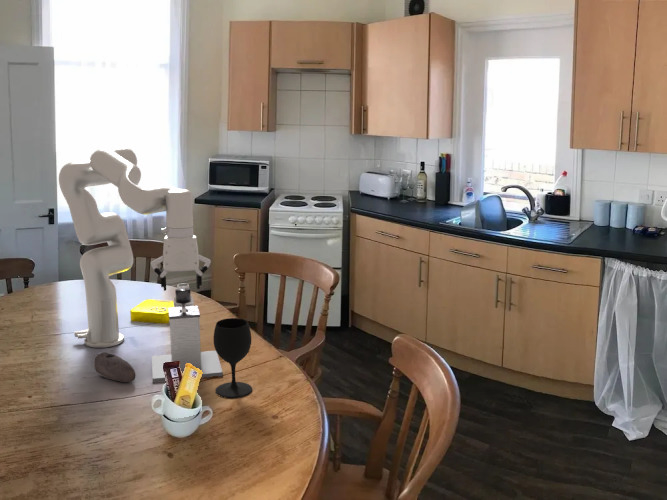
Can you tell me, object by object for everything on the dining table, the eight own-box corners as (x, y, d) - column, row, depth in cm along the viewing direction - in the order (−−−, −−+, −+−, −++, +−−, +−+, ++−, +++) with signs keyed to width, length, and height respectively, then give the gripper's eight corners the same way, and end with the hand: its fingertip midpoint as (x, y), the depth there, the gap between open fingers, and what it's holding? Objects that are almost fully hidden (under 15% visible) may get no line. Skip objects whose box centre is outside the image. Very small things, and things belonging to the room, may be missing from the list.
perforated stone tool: (142, 382, 212) (140, 360, 210) (127, 388, 208) (126, 365, 206) (107, 370, 220) (106, 349, 219) (93, 376, 216) (91, 354, 214)
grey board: (152, 382, 212) (152, 378, 212) (151, 359, 229) (151, 356, 228) (222, 376, 217) (222, 372, 216) (216, 354, 234) (216, 350, 233)
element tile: (184, 312, 276) (183, 300, 274) (167, 325, 261) (167, 312, 260) (147, 309, 278) (146, 297, 277) (128, 322, 264) (127, 309, 263)
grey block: (171, 370, 217) (169, 316, 213) (170, 356, 228) (167, 304, 224) (202, 368, 219) (199, 314, 215) (199, 353, 230) (197, 302, 226)
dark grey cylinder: (178, 355, 219) (175, 292, 214) (177, 350, 223) (174, 288, 218) (193, 354, 220) (190, 291, 215) (192, 348, 224) (189, 287, 220)
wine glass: (216, 383, 211) (214, 317, 207) (252, 382, 212) (251, 316, 208) (213, 399, 201) (211, 329, 197) (252, 397, 202) (250, 329, 198)
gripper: (149, 236, 207) (151, 293, 212) (211, 234, 212) (212, 290, 216) (149, 230, 214) (151, 286, 219) (209, 228, 219) (210, 283, 223)
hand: (181, 288), depth 217 cm, fingers open, 9 cm apart
